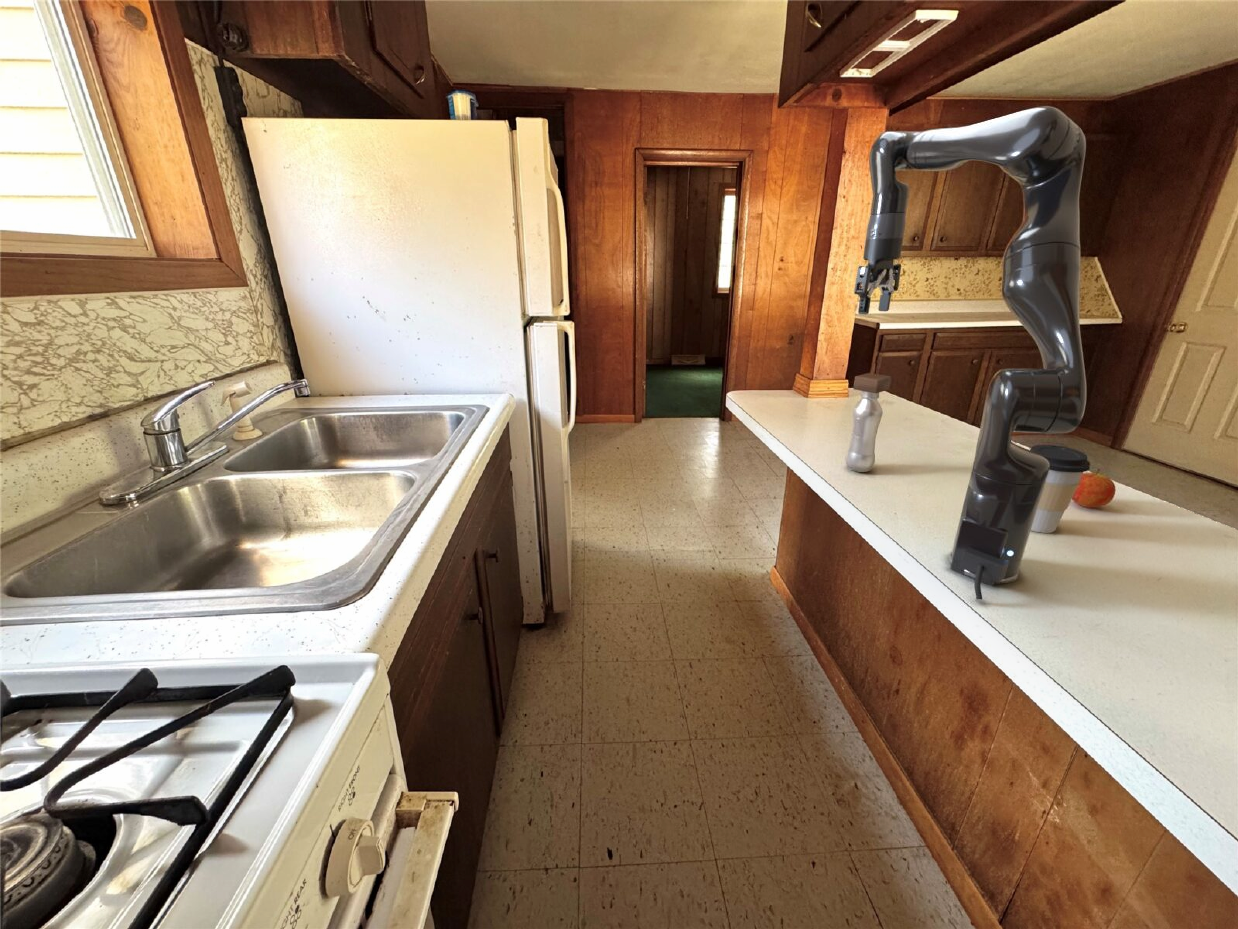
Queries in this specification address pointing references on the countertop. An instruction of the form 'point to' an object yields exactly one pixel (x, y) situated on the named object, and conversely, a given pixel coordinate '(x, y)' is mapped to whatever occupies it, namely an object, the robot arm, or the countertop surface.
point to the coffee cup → (1058, 484)
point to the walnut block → (872, 383)
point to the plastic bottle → (864, 433)
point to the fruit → (1094, 490)
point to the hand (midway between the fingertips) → (873, 312)
